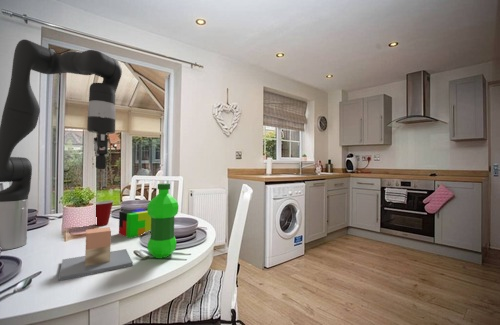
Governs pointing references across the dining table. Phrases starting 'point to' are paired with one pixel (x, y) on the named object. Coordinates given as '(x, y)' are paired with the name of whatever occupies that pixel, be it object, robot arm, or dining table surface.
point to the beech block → (97, 255)
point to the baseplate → (78, 268)
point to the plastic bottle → (162, 223)
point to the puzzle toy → (134, 222)
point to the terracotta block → (98, 238)
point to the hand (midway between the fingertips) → (100, 168)
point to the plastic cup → (103, 212)
